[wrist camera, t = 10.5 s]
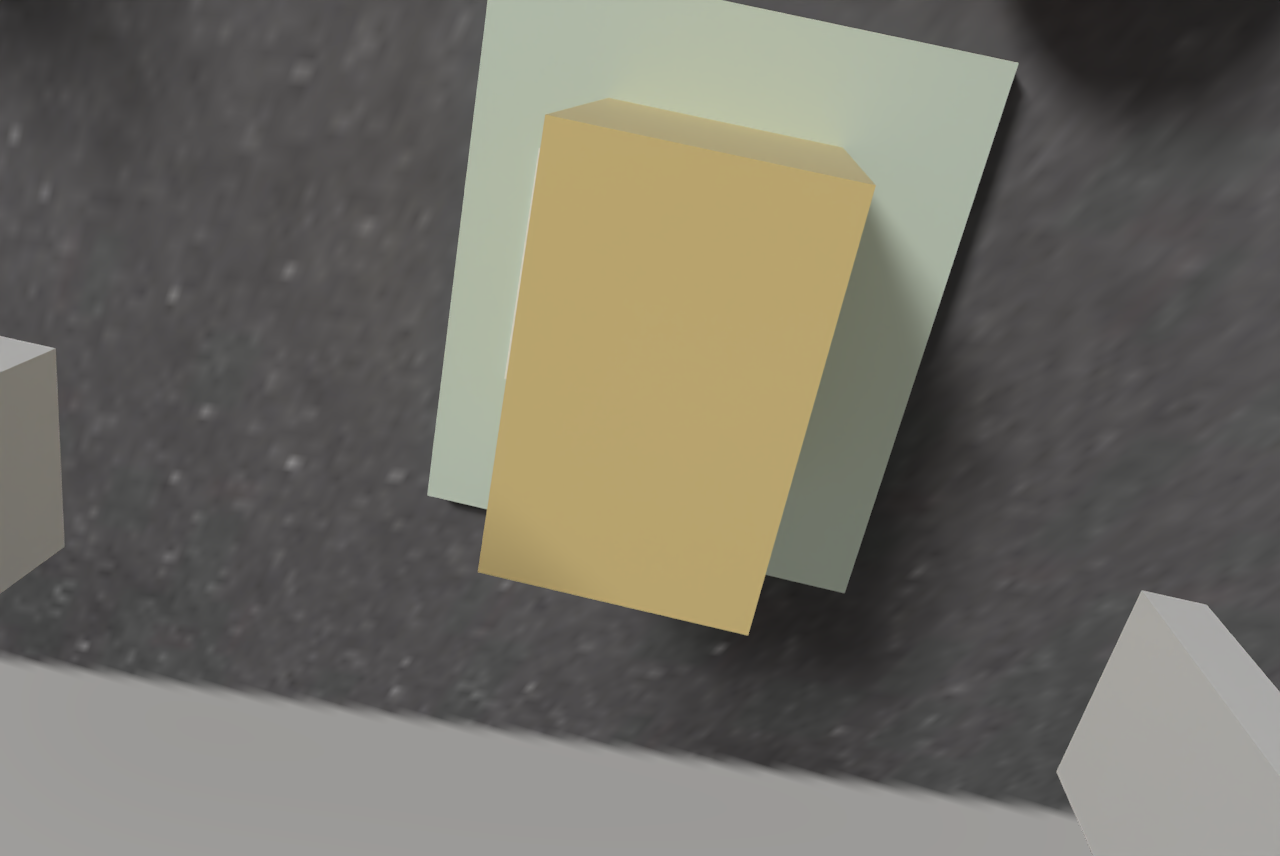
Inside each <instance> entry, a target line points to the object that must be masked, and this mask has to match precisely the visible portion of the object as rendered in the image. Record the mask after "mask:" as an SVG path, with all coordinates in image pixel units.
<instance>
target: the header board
mask: <svg viewBox="0 0 1280 856" xmlns="http://www.w3.org/2000/svg"><path fill="white" fill-rule="evenodd" d="M1018 64H1019V63H1017V62H1012V61H1007V60H1003V59H998V58H993V57H988V56H984V55H979V54H974V53H969V52H965V51H960V50H955V49H951V48H946V47H941V46H936V45H932V44H927V43H922V42H917V41H913V40H908V39H903V38H898V37H894V36H889V35H884V34H879V33H875V32H870V31H865V30H860V29H856V28H851V27H846V26H841V25H837V24H832V23H827V22H823V21H818V20H813V19H808V18H804V17H799V16H794V15H789V14H785V13H780V12H775V11H770V10H766V9H761V8H756V7H751V6H747V5H742V4H737V3H732V2H728V1H723V0H488V3H487V11H486V19H485V27H484V35H483V44H482V52H481V60H480V68H479V76H478V85H477V93H476V101H475V109H474V117H473V126H472V134H471V142H470V150H469V158H468V166H467V175H466V183H465V191H464V199H463V207H462V216H461V224H460V232H459V240H458V248H457V257H456V265H455V273H454V281H453V289H452V297H451V306H450V314H449V322H448V330H447V338H446V347H445V355H444V363H443V371H442V379H441V388H440V396H439V404H438V412H437V420H436V429H435V437H434V445H433V453H432V461H431V469H430V478H429V486H428V494H427V495H428V496H432V497H437V498H441V499H445V500H449V501H454V502H458V503H462V504H466V505H471V506H475V507H479V508H483V509H487V507H488V500H489V493H490V486H491V479H492V473H493V466H494V459H495V452H496V445H497V438H498V432H499V425H500V418H501V411H502V404H503V398H504V391H505V384H506V377H507V370H508V364H509V357H510V350H511V343H512V336H513V330H514V323H515V316H516V309H517V302H518V296H519V289H520V282H521V275H522V268H523V262H524V255H525V248H526V241H527V234H528V228H529V221H530V214H531V207H532V200H533V194H534V187H535V180H536V173H537V166H538V159H539V153H540V146H541V139H542V132H543V125H544V119H545V114H549V113H553V112H557V111H560V110H564V109H568V108H572V107H575V106H579V105H583V104H587V103H591V102H594V101H598V100H602V99H606V98H612V99H617V100H622V101H626V102H631V103H636V104H641V105H645V106H650V107H655V108H659V109H664V110H669V111H673V112H678V113H683V114H688V115H692V116H697V117H702V118H706V119H711V120H716V121H720V122H725V123H730V124H735V125H739V126H744V127H749V128H753V129H758V130H763V131H767V132H772V133H777V134H782V135H786V136H791V137H796V138H800V139H805V140H810V141H814V142H819V143H824V144H829V145H833V146H838V147H843V148H844V149H845V151H846V152H847V153H848V154H849V155H850V156H851V157H852V159H853V160H854V161H855V162H856V163H857V164H858V165H859V167H860V168H861V169H862V170H863V171H864V172H865V173H866V175H867V176H868V177H869V178H870V179H871V180H872V181H873V183H874V184H875V185H876V187H875V190H874V194H873V197H872V201H871V204H870V208H869V211H868V215H867V218H866V222H865V226H864V229H863V233H862V236H861V240H860V243H859V247H858V250H857V254H856V257H855V261H854V264H853V268H852V271H851V275H850V278H849V282H848V285H847V289H846V292H845V296H844V300H843V303H842V307H841V310H840V314H839V317H838V321H837V324H836V328H835V331H834V335H833V338H832V342H831V345H830V349H829V352H828V356H827V359H826V363H825V367H824V370H823V374H822V377H821V381H820V384H819V388H818V391H817V395H816V398H815V402H814V405H813V409H812V412H811V416H810V419H809V423H808V426H807V430H806V433H805V437H804V441H803V444H802V448H801V451H800V455H799V458H798V462H797V465H796V469H795V472H794V476H793V479H792V483H791V486H790V490H789V493H788V497H787V500H786V504H785V508H784V511H783V515H782V518H781V522H780V525H779V529H778V532H777V536H776V539H775V543H774V546H773V550H772V553H771V557H770V560H769V564H768V567H767V571H766V574H765V575H769V576H773V577H777V578H781V579H786V580H790V581H794V582H798V583H803V584H807V585H811V586H815V587H820V588H824V589H828V590H832V591H837V592H841V593H845V591H846V588H847V585H848V582H849V579H850V576H851V573H852V570H853V567H854V563H855V560H856V557H857V554H858V551H859V548H860V545H861V542H862V539H863V536H864V533H865V530H866V527H867V524H868V521H869V518H870V515H871V512H872V509H873V506H874V503H875V499H876V496H877V493H878V490H879V487H880V484H881V481H882V478H883V475H884V472H885V469H886V466H887V463H888V460H889V457H890V454H891V451H892V448H893V445H894V442H895V439H896V435H897V432H898V429H899V426H900V423H901V420H902V417H903V414H904V411H905V408H906V405H907V402H908V399H909V396H910V393H911V390H912V387H913V384H914V381H915V378H916V374H917V371H918V368H919V365H920V362H921V359H922V356H923V353H924V350H925V347H926V344H927V341H928V338H929V335H930V332H931V329H932V326H933V323H934V320H935V317H936V314H937V310H938V307H939V304H940V301H941V298H942V295H943V292H944V289H945V286H946V283H947V280H948V277H949V274H950V271H951V268H952V265H953V262H954V259H955V256H956V253H957V250H958V246H959V243H960V240H961V237H962V234H963V231H964V228H965V225H966V222H967V219H968V216H969V213H970V210H971V207H972V204H973V201H974V198H975V195H976V192H977V189H978V185H979V182H980V179H981V176H982V173H983V170H984V167H985V164H986V161H987V158H988V155H989V152H990V149H991V146H992V143H993V140H994V137H995V134H996V131H997V128H998V125H999V121H1000V118H1001V115H1002V112H1003V109H1004V106H1005V103H1006V100H1007V97H1008V94H1009V91H1010V88H1011V85H1012V82H1013V79H1014V76H1015V73H1016V70H1017V67H1018Z"/></svg>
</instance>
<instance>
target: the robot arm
mask: <svg viewBox="0 0 1280 856" xmlns="http://www.w3.org/2000/svg"><path fill="white" fill-rule="evenodd" d="M63 547H65V544H64V522H63V501H62V479H61V457H60V435H59V413H58V391H57V369H56V348H51V347H47V346H42V345H38V344H33V343H29V342H24V341H20V340H15V339H11V338H6V337H2V336H0V593H2V592H3V591H4V590H6V589H7V588H8V587H10V586H11V585H12V584H14V583H15V582H17V581H18V580H19V579H21V578H22V577H23V576H25V575H26V574H28V573H29V572H30V571H32V570H33V569H34V568H36V567H37V566H39V565H40V564H41V563H43V562H44V561H45V560H47V559H48V558H50V557H51V556H52V555H54V554H55V553H56V552H58V551H59V550H60V549H62V548H63ZM1056 772H1057V774H1058V777H1059V779H1060V781H1061V784H1062V786H1063V788H1064V790H1065V793H1066V795H1067V797H1068V800H1069V802H1070V804H1071V806H1072V809H1073V811H1074V813H1075V816H1076V818H1077V820H1078V823H1079V825H1080V827H1081V829H1082V831H1083V834H1084V836H1085V839H1086V841H1087V843H1088V845H1089V848H1090V850H1091V852H1092V855H1093V856H1280V692H1279V691H1278V689H1277V688H1276V687H1275V686H1274V685H1273V683H1272V682H1271V681H1270V680H1269V679H1268V677H1267V676H1266V675H1265V674H1264V673H1263V671H1262V670H1261V669H1260V668H1259V667H1258V666H1257V664H1256V663H1255V662H1254V661H1253V660H1252V658H1251V657H1250V656H1249V655H1248V654H1247V652H1246V651H1245V650H1244V649H1243V648H1242V646H1241V645H1240V644H1239V643H1238V642H1237V640H1236V639H1235V638H1234V637H1233V636H1232V635H1231V633H1230V632H1229V631H1228V630H1227V629H1226V627H1225V626H1224V625H1223V624H1222V623H1221V621H1220V620H1219V619H1218V618H1217V617H1216V615H1215V614H1214V613H1213V612H1212V611H1211V609H1210V608H1209V607H1208V606H1207V605H1205V604H1201V603H1196V602H1192V601H1187V600H1183V599H1178V598H1174V597H1169V596H1165V595H1160V594H1156V593H1151V592H1147V591H1141V593H1140V595H1139V597H1138V599H1137V601H1136V603H1135V606H1134V608H1133V610H1132V612H1131V614H1130V616H1129V618H1128V620H1127V623H1126V625H1125V627H1124V629H1123V631H1122V633H1121V635H1120V637H1119V640H1118V642H1117V644H1116V646H1115V648H1114V650H1113V652H1112V654H1111V657H1110V659H1109V661H1108V663H1107V665H1106V667H1105V669H1104V671H1103V674H1102V676H1101V678H1100V680H1099V682H1098V684H1097V686H1096V688H1095V691H1094V693H1093V695H1092V697H1091V699H1090V701H1089V703H1088V705H1087V708H1086V710H1085V712H1084V714H1083V716H1082V718H1081V720H1080V722H1079V725H1078V727H1077V729H1076V731H1075V733H1074V735H1073V737H1072V740H1071V742H1070V744H1069V746H1068V748H1067V750H1066V752H1065V754H1064V757H1063V759H1062V761H1061V763H1060V765H1059V767H1058V769H1057V771H1056Z"/></svg>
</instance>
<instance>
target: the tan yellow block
mask: <svg viewBox="0 0 1280 856" xmlns="http://www.w3.org/2000/svg"><path fill="white" fill-rule="evenodd" d="M875 187H876V185H875V184H874V183H873V181H872V180H871V179H870V178H869V177H868V176H867V175H866V173H865V172H864V171H863V170H862V169H861V168H860V167H859V165H858V164H857V163H856V162H855V161H854V160H853V159H852V157H851V156H850V155H849V154H848V153H847V152H846V151H845V149H844V148H843V147H838V146H833V145H829V144H824V143H819V142H814V141H810V140H805V139H800V138H796V137H791V136H786V135H782V134H777V133H772V132H767V131H763V130H758V129H753V128H749V127H744V126H739V125H735V124H730V123H725V122H720V121H716V120H711V119H706V118H702V117H697V116H692V115H688V114H683V113H678V112H673V111H669V110H664V109H659V108H655V107H650V106H645V105H641V104H636V103H631V102H626V101H622V100H617V99H612V98H606V99H602V100H598V101H594V102H591V103H587V104H583V105H579V106H575V107H572V108H568V109H564V110H560V111H557V112H553V113H549V114H545V119H544V125H543V132H542V139H541V146H540V153H539V159H538V166H537V173H536V180H535V187H534V194H533V200H532V207H531V214H530V221H529V228H528V234H527V241H526V248H525V255H524V262H523V268H522V275H521V282H520V289H519V296H518V302H517V309H516V316H515V323H514V330H513V336H512V343H511V350H510V357H509V364H508V370H507V377H506V384H505V391H504V398H503V404H502V411H501V418H500V425H499V432H498V438H497V445H496V452H495V459H494V466H493V473H492V479H491V486H490V493H489V500H488V507H487V513H486V520H485V527H484V534H483V541H482V547H481V554H480V561H479V568H478V572H480V573H484V574H488V575H492V576H497V577H501V578H505V579H509V580H514V581H518V582H522V583H526V584H531V585H535V586H539V587H543V588H548V589H552V590H556V591H560V592H565V593H569V594H573V595H577V596H582V597H586V598H590V599H594V600H599V601H603V602H607V603H611V604H616V605H620V606H624V607H629V608H633V609H637V610H641V611H646V612H650V613H654V614H658V615H663V616H667V617H671V618H675V619H680V620H684V621H688V622H692V623H697V624H701V625H705V626H709V627H714V628H718V629H722V630H726V631H731V632H735V633H739V634H743V635H748V634H749V631H750V627H751V624H752V620H753V617H754V613H755V610H756V606H757V603H758V599H759V596H760V592H761V589H762V585H763V582H764V578H765V574H766V571H767V567H768V564H769V560H770V557H771V553H772V550H773V546H774V543H775V539H776V536H777V532H778V529H779V525H780V522H781V518H782V515H783V511H784V508H785V504H786V500H787V497H788V493H789V490H790V486H791V483H792V479H793V476H794V472H795V469H796V465H797V462H798V458H799V455H800V451H801V448H802V444H803V441H804V437H805V433H806V430H807V426H808V423H809V419H810V416H811V412H812V409H813V405H814V402H815V398H816V395H817V391H818V388H819V384H820V381H821V377H822V374H823V370H824V367H825V363H826V359H827V356H828V352H829V349H830V345H831V342H832V338H833V335H834V331H835V328H836V324H837V321H838V317H839V314H840V310H841V307H842V303H843V300H844V296H845V292H846V289H847V285H848V282H849V278H850V275H851V271H852V268H853V264H854V261H855V257H856V254H857V250H858V247H859V243H860V240H861V236H862V233H863V229H864V226H865V222H866V218H867V215H868V211H869V208H870V204H871V201H872V197H873V194H874V190H875Z"/></svg>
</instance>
